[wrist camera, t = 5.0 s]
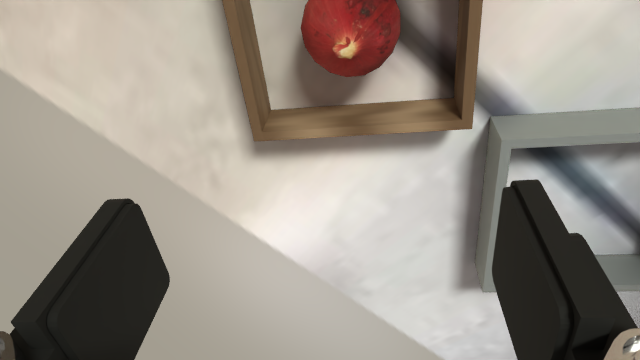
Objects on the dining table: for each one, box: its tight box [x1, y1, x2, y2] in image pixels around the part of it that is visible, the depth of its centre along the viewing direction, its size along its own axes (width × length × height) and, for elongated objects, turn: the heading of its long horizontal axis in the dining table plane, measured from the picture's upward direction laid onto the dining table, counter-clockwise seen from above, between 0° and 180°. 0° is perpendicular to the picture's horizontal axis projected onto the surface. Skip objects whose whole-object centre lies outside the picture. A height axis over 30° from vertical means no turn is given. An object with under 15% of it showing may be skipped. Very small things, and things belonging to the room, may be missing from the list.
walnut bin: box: [222, 0, 483, 141], centre depth 28 cm, size 15×15×4 cm
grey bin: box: [475, 108, 640, 292], centre depth 35 cm, size 15×15×4 cm
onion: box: [301, 0, 400, 77], centre depth 26 cm, size 6×6×8 cm
